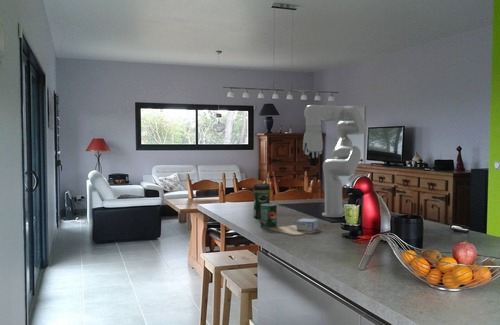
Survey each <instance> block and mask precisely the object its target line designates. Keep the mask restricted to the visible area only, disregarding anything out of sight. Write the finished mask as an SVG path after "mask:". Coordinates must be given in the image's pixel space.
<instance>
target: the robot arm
mask: <svg viewBox="0 0 500 325" xmlns="http://www.w3.org/2000/svg"><path fill="white" fill-rule="evenodd" d="M303 116H304V118H305V132H304V135H303V141H302V151H303V152H304V154H305V155H307V156H308V157H309V160H310V161H309V164H310V165H309V166H311V167H312V166H313V167H316V166H318V163H317V162H318V161H317V160H318V158H319V156H320V155H322V154H323V150H324V149H323V148H324V141H323V140H324V139H323V133H322V129H323V128H322V125H321V124H322V123H321V122H322V121H323V122H337V124H336V126H335V128H336V136H337V137H336V138H337V143H336V145H335V147H334V148H333V150H332V152H331V158H327V159H326V160H324V161H323V163H322V169H323V170H322V171H323V177H324V212H322V213H321V216H322V217H325V218H344V217H345V216H344V213H345V211H344V208H345V207H343V183H342V181H341V178H340V177H352V176H353V175H354V173H355V171H356V169H357V168H358V165H359V163H360V160H361V157H362V156H361V149H360V148H359V147H358V146H356V145H353V142H352V140H351V138H350V137H349V136H350V135H351V136H352V135H358V136H359V135H363V134H364V133H365V132H366V130H367V129H366V128H367V126H366V121H365V120H364V117H363V115H362V113H361V110H360V109H359V107H357V106H356V105H341V106H340V105H326V104H325V105H319V104H318V105H317V104H309V105H308V104H307V105H306V107H305V109H304V110H303ZM348 135H349V136H348ZM343 216H344V217H343Z"/></svg>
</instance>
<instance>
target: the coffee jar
mask: <svg viewBox="0 0 500 325" xmlns="http://www.w3.org/2000/svg"><path fill="white" fill-rule="evenodd" d="M252 193H253V196H254V197H253V199H254V200H253V201H254V202H253V217H254V218H260V219H261V204H264V203H270V194H271V186H270V184H269V183H264V182H263V183H262V182H261V183H254V184H253V188H252Z"/></svg>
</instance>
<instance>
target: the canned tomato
mask: <svg viewBox="0 0 500 325" xmlns="http://www.w3.org/2000/svg"><path fill="white" fill-rule="evenodd" d="M277 209H278V208H277V203H273V202H271V203H264V204H261V218H260V228H263V229H270V228H277V227H278V226H277V225H278V221H277V220H278V217H277V216H278V215H277Z"/></svg>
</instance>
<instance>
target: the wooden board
mask: <svg viewBox="0 0 500 325" xmlns="http://www.w3.org/2000/svg"><path fill="white" fill-rule="evenodd" d="M269 230H270V231H273V232H279V233H281V234H286V235H290V236H293V237H296V236H300V235H301V236H302V235H307V234H313V233H319V232H320V233H321V230H319V229H316V230H314V231H303V230H297V224H291V225H286V226H280V227H278V226H277V227H275V228H269Z"/></svg>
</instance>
